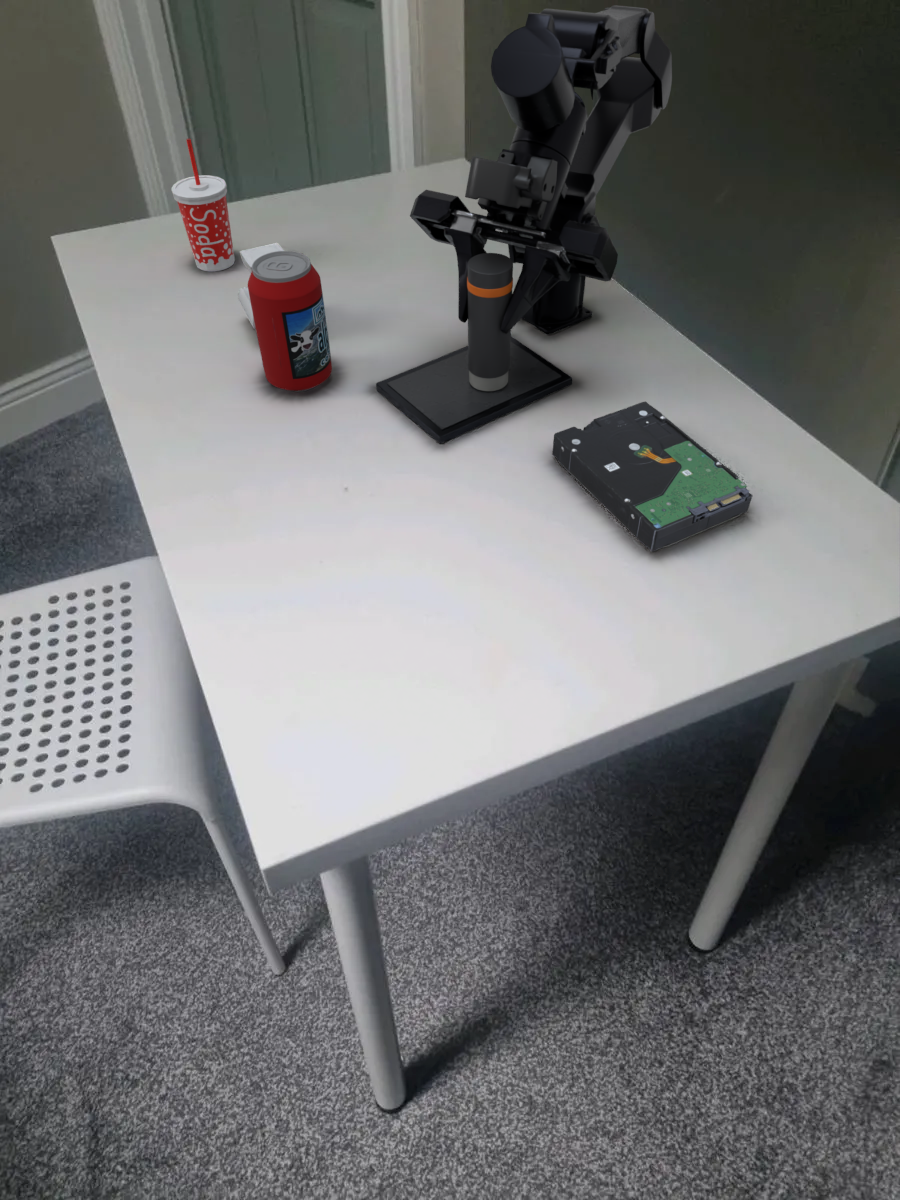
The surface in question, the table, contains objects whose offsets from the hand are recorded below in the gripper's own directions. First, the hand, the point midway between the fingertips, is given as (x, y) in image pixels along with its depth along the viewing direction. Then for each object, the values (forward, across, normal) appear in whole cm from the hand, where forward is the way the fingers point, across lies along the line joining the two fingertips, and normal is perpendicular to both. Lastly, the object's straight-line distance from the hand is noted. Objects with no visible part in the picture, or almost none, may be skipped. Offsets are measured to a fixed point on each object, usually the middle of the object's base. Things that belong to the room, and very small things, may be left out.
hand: (482, 326), depth 82 cm
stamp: (+4, -26, +6) cm, 27 cm away
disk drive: (+9, +19, +2) cm, 21 cm away
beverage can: (+9, -18, +2) cm, 20 cm away
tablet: (+5, -1, +6) cm, 8 cm away
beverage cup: (-2, -41, +13) cm, 43 cm away
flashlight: (+4, 0, +6) cm, 7 cm away
